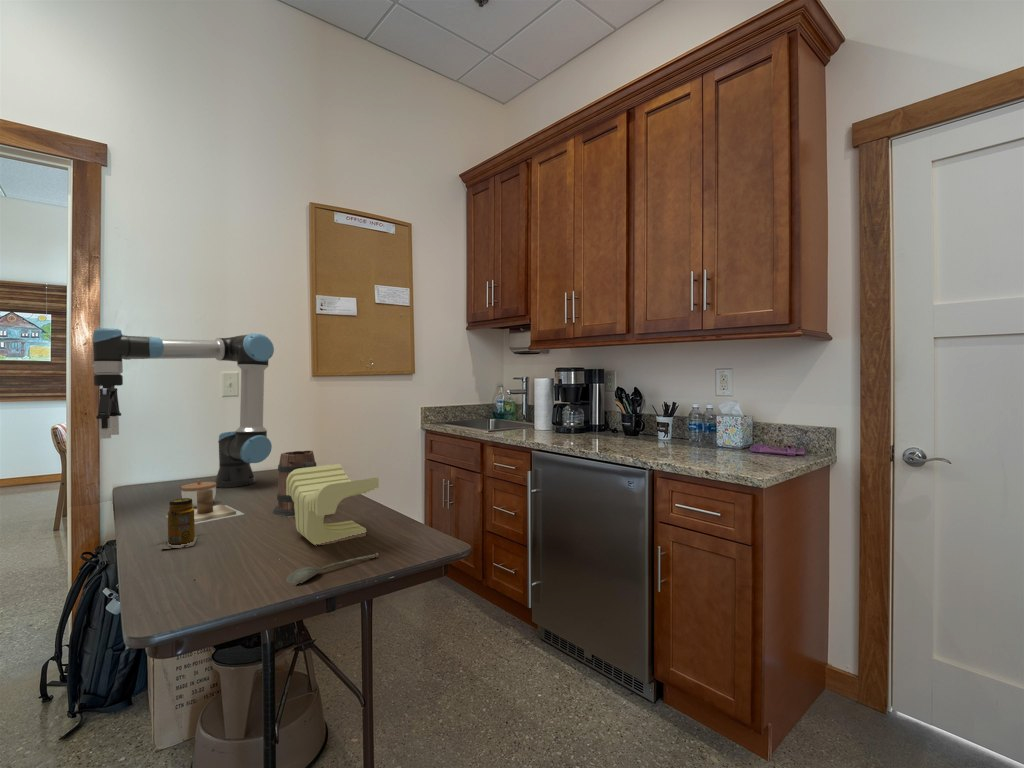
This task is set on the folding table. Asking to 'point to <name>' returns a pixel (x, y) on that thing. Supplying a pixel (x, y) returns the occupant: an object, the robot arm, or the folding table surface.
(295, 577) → the soupspoon
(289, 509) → the tankard
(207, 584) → the folding table surface
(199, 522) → the mat
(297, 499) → the slatted curved stool
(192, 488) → the lidded jar
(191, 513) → the condiment
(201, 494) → the lid
